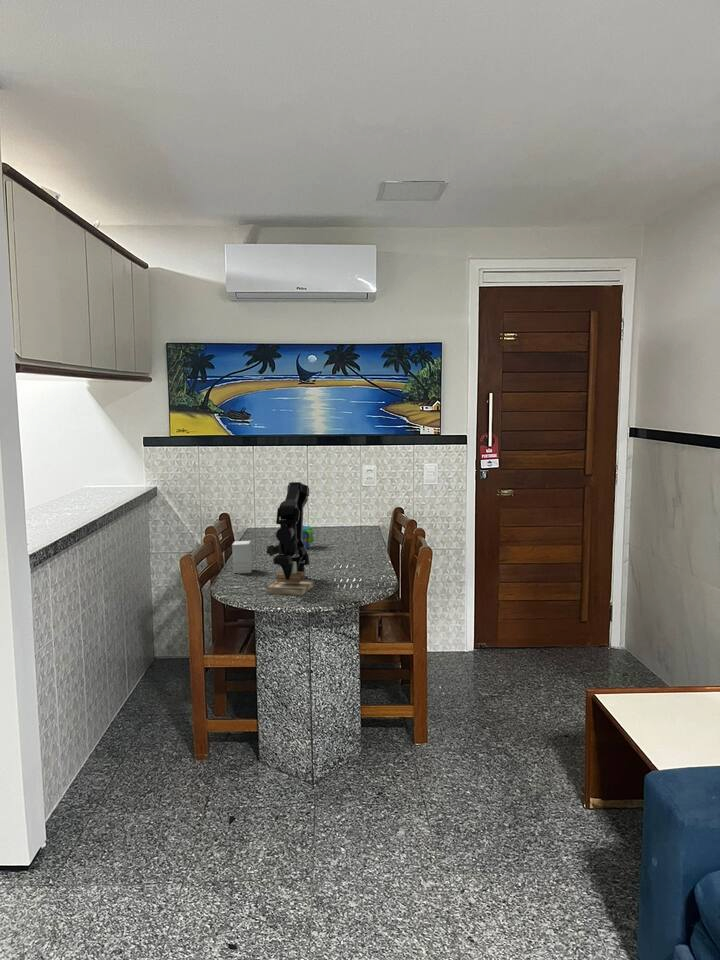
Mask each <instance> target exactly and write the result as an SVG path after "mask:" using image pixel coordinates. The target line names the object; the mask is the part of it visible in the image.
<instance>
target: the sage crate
mask: <svg viewBox="0 0 720 960" xmlns="http://www.w3.org/2000/svg"><path fill="white" fill-rule="evenodd" d="M296 572H297V564H296V562H294V564H293V567H292V571H291V574H295V573H296Z"/></svg>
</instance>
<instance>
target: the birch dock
mask: <svg viewBox="0 0 720 960" xmlns="http://www.w3.org/2000/svg"><path fill="white" fill-rule="evenodd" d="M313 587H315V579H305V580H302V581H301V582H300V583H286V582H277V580H276V581H275V582H273V583H272V584H270V585H269V586H267V587H266V594H272V595H291V596H303V595H304V594H306V593H307V592H308V591H309V590H311V589H312V588H313ZM310 588H311V589H310Z"/></svg>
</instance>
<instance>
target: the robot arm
mask: <svg viewBox="0 0 720 960" xmlns="http://www.w3.org/2000/svg"><path fill="white" fill-rule="evenodd" d="M286 492H287V493H286V496H285V500H284V501H281V502H280V504H279V505H278V506H279V507H278V508H277V512H276V522H275V525H280V527H279V529H277V531H276V533H275V537H276V540H277V541H278V543H277V544H275V545H273V544H270V545H267V547H266V554H268V555H269V557H273V556H274V555H275V556H274V557H273V558H272V563H273V565H278V566H280V567H281V569H282V571H283V572H284V575H285V577H286V579H287V580H289V578H290V575H291V571H292V567H293V564H294V562H296V564H297V571H298V572H304V580H307V579H308V577H309V576H307V575H305V571H306V570H305V566H307V565H310V556H309V553H308V550H307V549H306V548H305V546H304V544H303V542H302V531H303V526H304V524H303V523H304V508H305V505H306V504H307V503H308V500H309V496H310V487H309V486H308V485H307V484H303V483H302V482H300V481H290V482H288V485H287V491H286Z"/></svg>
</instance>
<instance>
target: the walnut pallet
mask: <svg viewBox="0 0 720 960" xmlns="http://www.w3.org/2000/svg"><path fill="white" fill-rule="evenodd" d="M302 580H304V572H298V571H297V572H296V573H295V574H291V575H290V578H289V580H287V579H286V577H285V575H284V572H283V570H281V571H280V572H278V573H276V581H277V582H286V583H300V582H301V581H302Z"/></svg>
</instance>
